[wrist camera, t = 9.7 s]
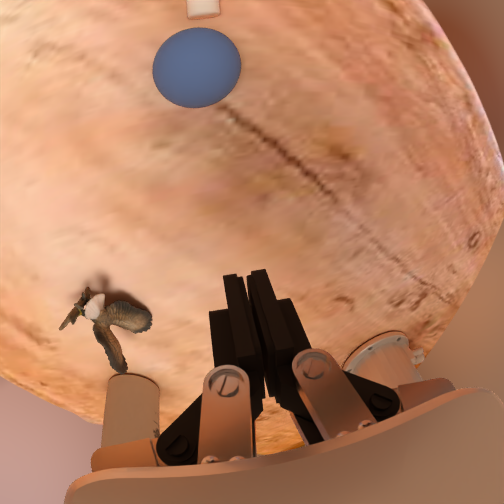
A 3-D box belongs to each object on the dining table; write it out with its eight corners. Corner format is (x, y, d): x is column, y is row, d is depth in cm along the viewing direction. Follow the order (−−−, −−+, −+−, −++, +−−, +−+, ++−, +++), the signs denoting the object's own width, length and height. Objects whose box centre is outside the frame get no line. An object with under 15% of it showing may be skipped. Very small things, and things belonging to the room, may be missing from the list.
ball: (243, 59, 13) (248, 116, 19) (232, 6, 14) (238, 61, 20) (136, 80, 13) (165, 131, 19) (145, 24, 14) (166, 74, 20)
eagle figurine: (64, 320, 28) (124, 365, 31) (51, 336, 21) (126, 390, 24) (100, 270, 30) (159, 317, 33) (94, 273, 23) (169, 332, 26)
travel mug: (107, 393, 38) (99, 496, 23) (110, 367, 34) (98, 488, 19) (154, 403, 40) (157, 505, 25) (164, 379, 37) (168, 498, 22)
